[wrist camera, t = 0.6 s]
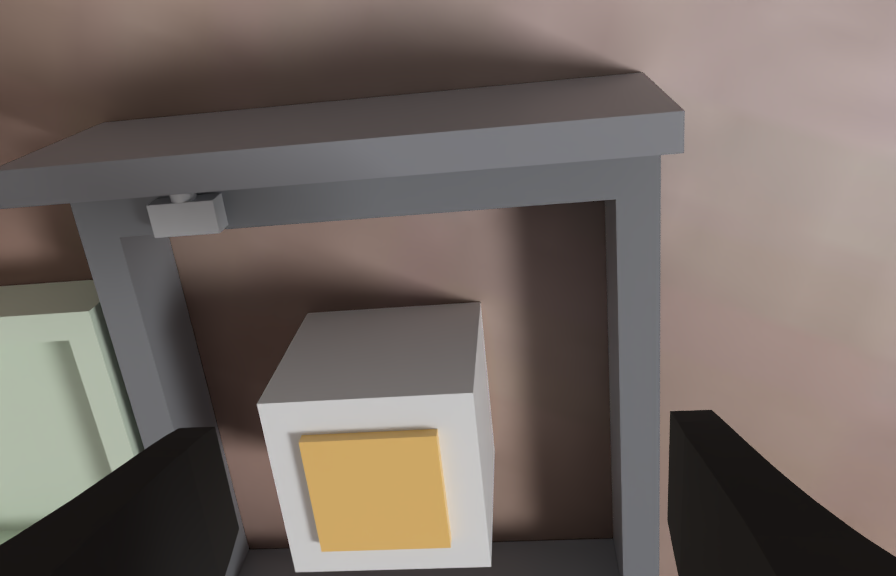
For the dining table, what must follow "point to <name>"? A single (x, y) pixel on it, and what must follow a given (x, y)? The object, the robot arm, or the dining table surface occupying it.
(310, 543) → the block
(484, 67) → the dining table surface
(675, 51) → the dining table surface
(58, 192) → the case
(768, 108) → the dining table surface
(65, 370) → the bay
